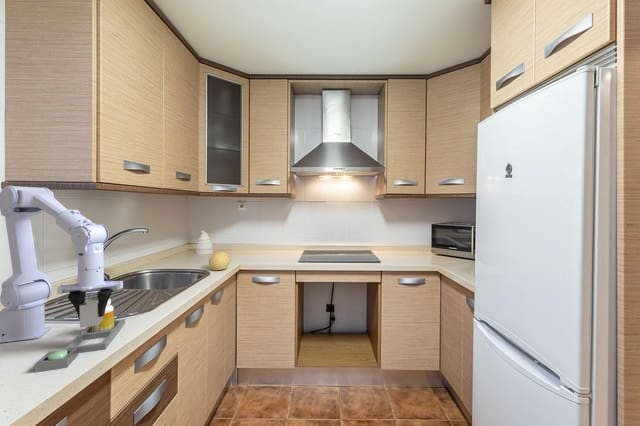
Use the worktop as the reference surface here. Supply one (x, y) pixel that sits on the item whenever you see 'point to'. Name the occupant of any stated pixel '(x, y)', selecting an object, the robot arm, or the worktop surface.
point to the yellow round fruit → (219, 261)
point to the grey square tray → (56, 361)
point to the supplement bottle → (106, 319)
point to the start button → (57, 354)
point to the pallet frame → (87, 335)
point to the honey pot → (204, 244)
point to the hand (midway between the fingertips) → (91, 316)
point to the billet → (90, 314)
